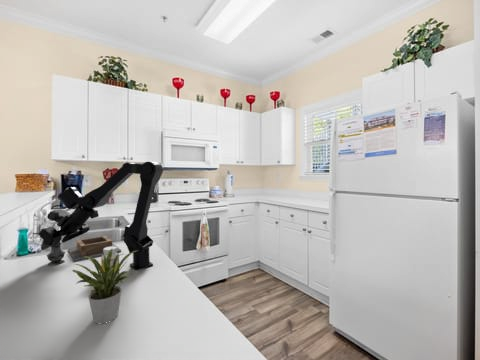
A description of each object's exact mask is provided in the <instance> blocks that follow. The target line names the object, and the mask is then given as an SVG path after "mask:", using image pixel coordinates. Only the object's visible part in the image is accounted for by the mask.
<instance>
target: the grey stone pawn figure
mask: <svg viewBox="0 0 480 360" xmlns="http://www.w3.org/2000/svg"><path fill="white" fill-rule="evenodd" d="M62 244H63V243H62V242H61V240H60V241H59V242H58V243H57V244H55V245H53V246H51V247H50V252H49V253H47V254H46V257H47V259H48V261H49V262H48V263H47V266H49V267H52V266H58V265H62V264H63V263H65V260H64V259H63V258H65V254H66V251H63V250H62V248H61V247H62Z"/></svg>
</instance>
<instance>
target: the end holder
mask: <svg viewBox="0 0 480 360" xmlns="http://www.w3.org/2000/svg"><path fill="white" fill-rule="evenodd" d="M111 246H115V247H117V253H118V254H119V253H121V252H122V249H120V248H119V247H118V246H117V245H116V244H114V243H113V240H112V239H111V238H109V237H108V236H107V235H101V236H95V237H89V238H83V239H82V238H81V239H77V240H76V247H70V248H68V250H67V251H68V252H69V254H70V256H71V258H72V259H73V261H74V262H75V263H76V262H81V261H85V260H89V259H88V258H87V257H84V256H88V255H89V256H88V257H91V258H94V259H96V258H98V257H102V255H103V254H104V253H103V249H104V248H106V247H111Z"/></svg>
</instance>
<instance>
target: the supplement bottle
mask: <svg viewBox="0 0 480 360" xmlns="http://www.w3.org/2000/svg"><path fill="white" fill-rule="evenodd" d="M115 246H116V245H115ZM115 246H111V247H106V248H104V249H103V253H104V255H105V256H106V259H107V256H108V253H109V251H110V250H111V249H113V250H112V257H111V261H110V266H111V265H113V262H114V259H115V257H116V255H118V254H119V253H117V247H118V246H117V247H115ZM119 255H120V254H119ZM119 255H118V256H119ZM100 257H101V258H100V260H101V261H100V263H101V264H100V265H101V267H102V269H103V271H104V272H105V268H104V256H103V255H102V256H100ZM119 263H120V256H119V257H118V259H117V261H116V265H115V269H114V273H115V271H116V269H117V267H118V265H119ZM119 274H120V271H119V272H118V274H117V275H116V277H117V276H118V275H119ZM116 277H115V278H116Z"/></svg>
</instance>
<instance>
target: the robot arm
mask: <svg viewBox="0 0 480 360" xmlns="http://www.w3.org/2000/svg"><path fill="white" fill-rule="evenodd" d="M163 172H164V167H163V166H162V164H161V163H160V162H157V161H145V162H143V163H135V162H125V163H123V164H122V165H121V167H120V168H119V169H118V170H117V171H116V172H114V173H113V174H112V175H111V176H110V177H109V178H108V179H107V180H106V181H105V182H104V183H102V184H101V185H100V186H99V187H97V188H95V189H94V188H93V189H92V190H90V191H89V192H87V193H86V194H85V195H82V194H81V193H80V192H79V191H78V189H77V187H75V186H73V187H72V186H70V187H69V188H68V189H67V188H66V189H65V190H63V191H62V192H59V194H58V195H57V199H58V200H59V201H60V202H61V204H62V205H64V206H65V208H66V209H68V210H73V211H72V212H71V213H70V212H68V211H66V210H65V209H62V208H59V209H58V208H57V209H55V210H54V209H53V210H51V211H50V212H49V213H47V216H46V218H47V220H49V221H51V222H56V226H58V227H59V228H60V229H59V230H57V229H56V228H55V227H54V226H49V227H48V226H47V227H45V228H41V229H40V230H39V231H38V234H37V235H38V236H39V237H40V238H41V239H42V243H41V245H40V246H41V247H40V250H41V251H45V250H47V249H49V248H51V246H53V245H55V244H57V243H58V242H59V241H60V242H61V243H62V244H65V243H66V242H69V241H71V240H73V239H76V238H78V237H80V236H82V235H84V234H86V233H88V232H89V231H90V226H89V224H87V221H88V220H89V219H96V218H99V217H100V215H99V213H98V211H99V210H97V209H95V208H101V207H104V206H105V205H107V203H108V202H109V200H110V199H111V195H112V194H113V193H114V192H115V191H116V190H117V189H119V187H120V186H121V185H122V184H124V183H125V182H126V181H127V180H128V179H129V178H130V177H131V176H132V175H134V174H135V175H139V179H140V183H141V185H140V190H139V194H138V199H137V202H136V203H137V204H136V205H135V206H136V208H135V212H134V215H133V219H132V222H131V223H129V224H128V225H125V227H124V233H123V235H122V238H123V243H124V244H125V245H126V247H127V250H128V254H129V253H131V252H133V251H136V252H134V253H132V263H129V266H130V267H131V268H133V269H134V270H135V271H137V270H140V269H145V268H148V267H152V266H153V265H154V263H153V262H151V260H150V247H152V246H153V245H154V240H153V239H152V237H150V236H149V235H148V224H147V221H148V217H149V211H150V208H151V204H152V199H153V196H154V191H155V187H156V186H157V184H158V182H159V181H160V180H161V177H162V175H163ZM137 250H138V251H137Z"/></svg>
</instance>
